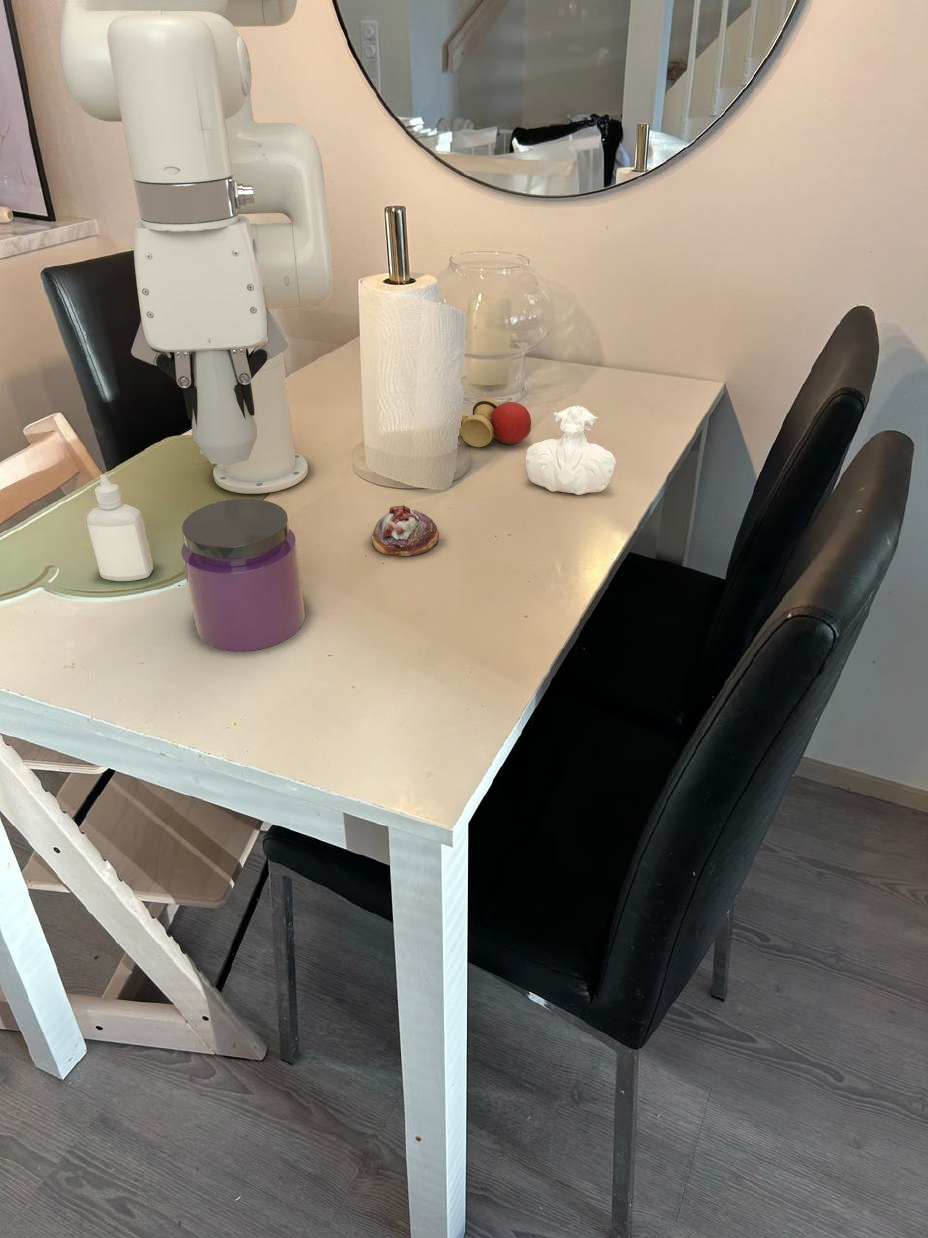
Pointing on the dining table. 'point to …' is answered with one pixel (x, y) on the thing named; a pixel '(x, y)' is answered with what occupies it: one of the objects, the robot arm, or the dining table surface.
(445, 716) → the dining table surface
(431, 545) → the pastry
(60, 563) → the dining table surface
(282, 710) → the dining table surface
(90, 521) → the eye dropper bottle
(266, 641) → the jar
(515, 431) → the kendama
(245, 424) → the salt shaker
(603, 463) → the bust
